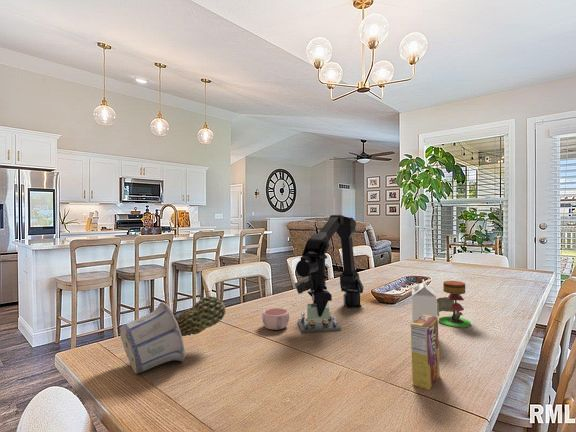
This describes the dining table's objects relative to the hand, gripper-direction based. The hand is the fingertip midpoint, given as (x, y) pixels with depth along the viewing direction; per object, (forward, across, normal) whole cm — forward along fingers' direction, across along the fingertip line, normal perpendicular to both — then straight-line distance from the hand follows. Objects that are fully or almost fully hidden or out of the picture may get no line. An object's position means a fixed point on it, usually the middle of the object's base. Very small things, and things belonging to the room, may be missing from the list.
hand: (318, 313), depth 123 cm
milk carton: (+5, +17, +32) cm, 37 cm away
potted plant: (+5, +20, -46) cm, 50 cm away
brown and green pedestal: (+5, +4, +51) cm, 51 cm away
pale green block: (+1, 0, 0) cm, 1 cm away
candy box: (+5, +42, +19) cm, 46 cm away
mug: (+5, -2, -16) cm, 17 cm away
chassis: (+4, 0, 0) cm, 4 cm away
